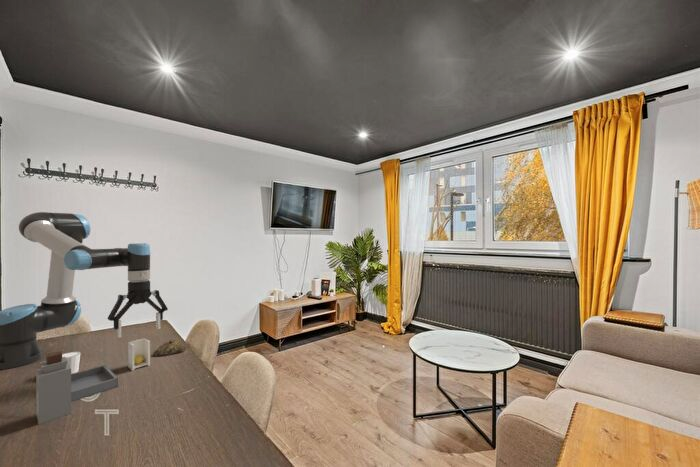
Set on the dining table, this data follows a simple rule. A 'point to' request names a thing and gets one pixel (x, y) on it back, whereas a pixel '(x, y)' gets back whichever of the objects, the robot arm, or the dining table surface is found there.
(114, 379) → the tray
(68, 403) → the perfume bottle
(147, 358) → the white u-shaped stool
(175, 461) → the dining table surface
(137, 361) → the ball
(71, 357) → the shot glass
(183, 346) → the bread roll
